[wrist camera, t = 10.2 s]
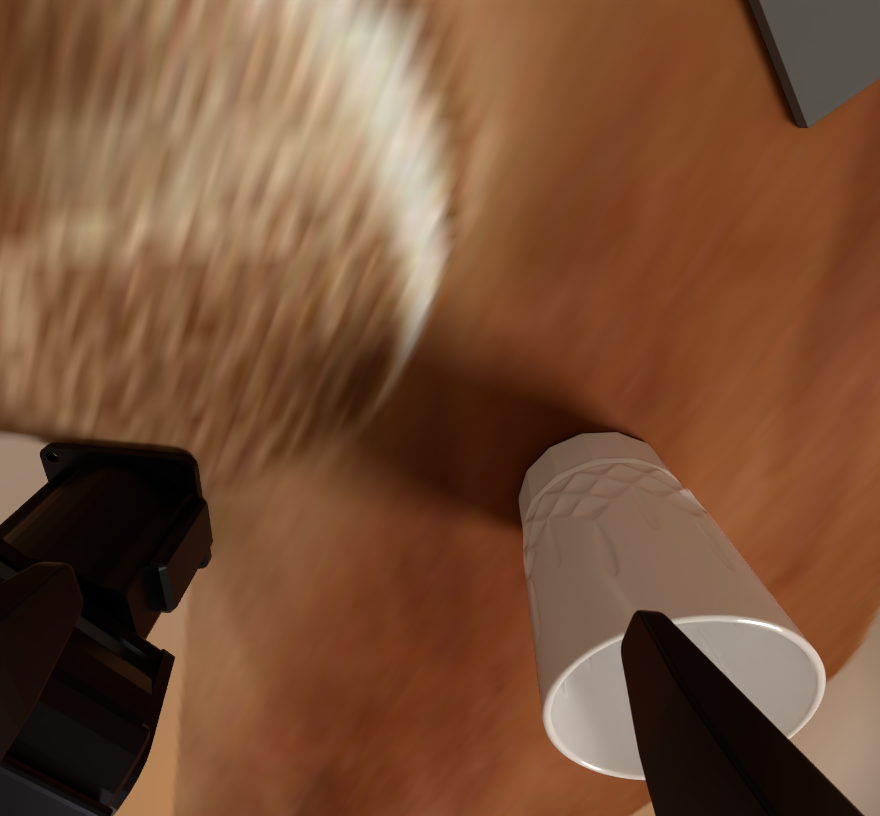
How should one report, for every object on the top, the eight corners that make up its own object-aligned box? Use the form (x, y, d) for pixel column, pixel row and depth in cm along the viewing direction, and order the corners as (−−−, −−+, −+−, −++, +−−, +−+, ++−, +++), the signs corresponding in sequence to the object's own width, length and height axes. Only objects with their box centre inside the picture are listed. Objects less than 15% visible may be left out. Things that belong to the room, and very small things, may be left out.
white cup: (529, 404, 21) (590, 599, 12) (709, 432, 22) (886, 636, 13) (489, 544, 25) (514, 769, 16) (643, 564, 26) (748, 792, 17)
